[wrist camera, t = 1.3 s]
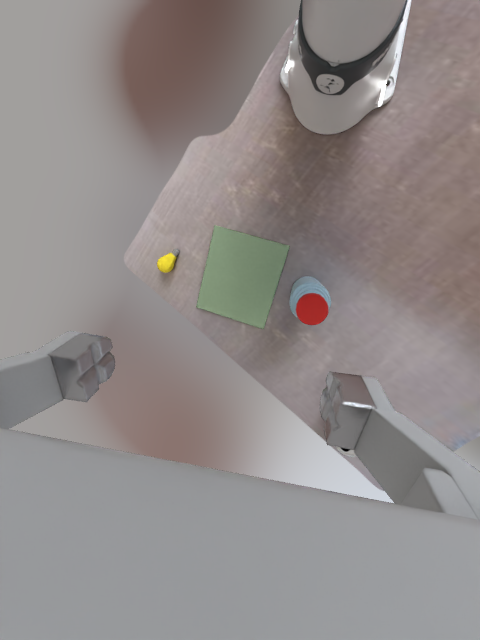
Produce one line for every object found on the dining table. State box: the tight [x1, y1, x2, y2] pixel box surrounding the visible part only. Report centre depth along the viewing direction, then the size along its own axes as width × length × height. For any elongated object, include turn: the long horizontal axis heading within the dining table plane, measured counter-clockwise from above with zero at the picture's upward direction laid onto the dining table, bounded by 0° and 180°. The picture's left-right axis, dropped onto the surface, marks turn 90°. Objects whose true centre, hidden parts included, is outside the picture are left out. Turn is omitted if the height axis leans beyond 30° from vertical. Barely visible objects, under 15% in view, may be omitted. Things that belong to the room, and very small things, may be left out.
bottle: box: [290, 276, 331, 319], centre depth 41 cm, size 6×6×19 cm
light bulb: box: [157, 249, 179, 273], centre depth 54 cm, size 3×6×4 cm, turn 140°
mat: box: [196, 226, 290, 329], centre depth 53 cm, size 18×16×1 cm
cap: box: [296, 293, 329, 325], centre depth 33 cm, size 4×4×2 cm
